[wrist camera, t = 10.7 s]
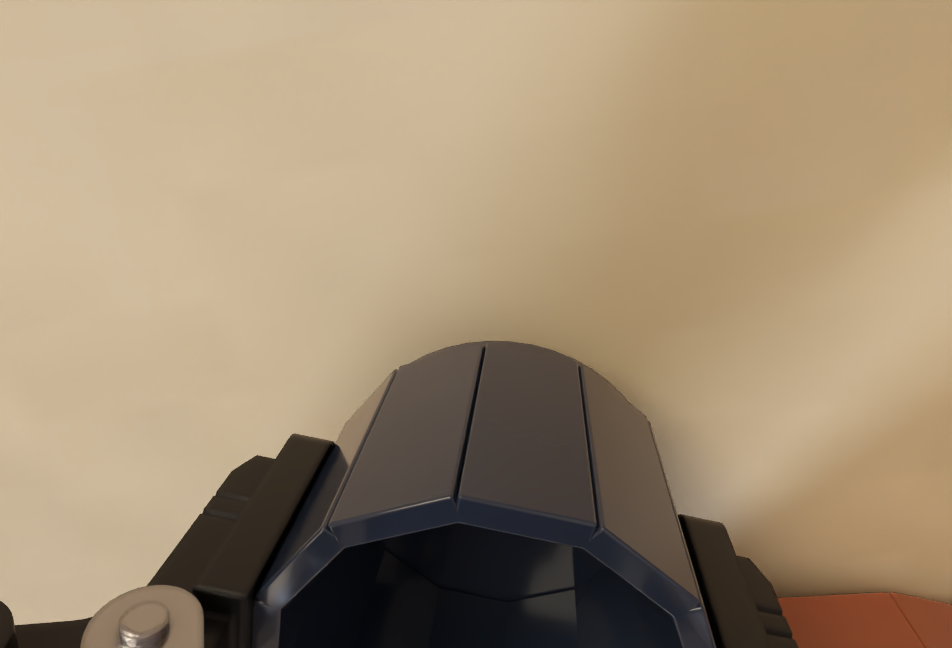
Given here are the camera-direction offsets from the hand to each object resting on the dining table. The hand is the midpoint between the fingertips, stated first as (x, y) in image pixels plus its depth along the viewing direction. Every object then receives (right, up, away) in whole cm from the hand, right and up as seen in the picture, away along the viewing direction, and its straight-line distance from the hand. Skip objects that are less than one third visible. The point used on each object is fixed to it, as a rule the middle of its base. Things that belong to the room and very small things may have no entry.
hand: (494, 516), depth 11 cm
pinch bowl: (0, 0, +1) cm, 1 cm away
